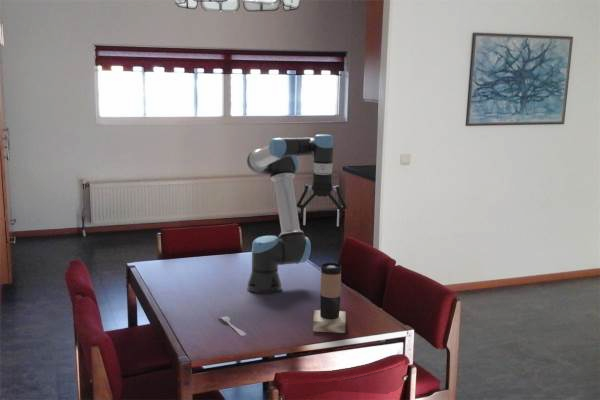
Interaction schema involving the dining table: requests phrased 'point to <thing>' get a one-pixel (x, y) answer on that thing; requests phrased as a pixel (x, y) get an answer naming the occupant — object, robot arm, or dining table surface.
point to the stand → (329, 323)
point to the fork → (233, 326)
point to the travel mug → (330, 290)
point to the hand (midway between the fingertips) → (321, 225)
